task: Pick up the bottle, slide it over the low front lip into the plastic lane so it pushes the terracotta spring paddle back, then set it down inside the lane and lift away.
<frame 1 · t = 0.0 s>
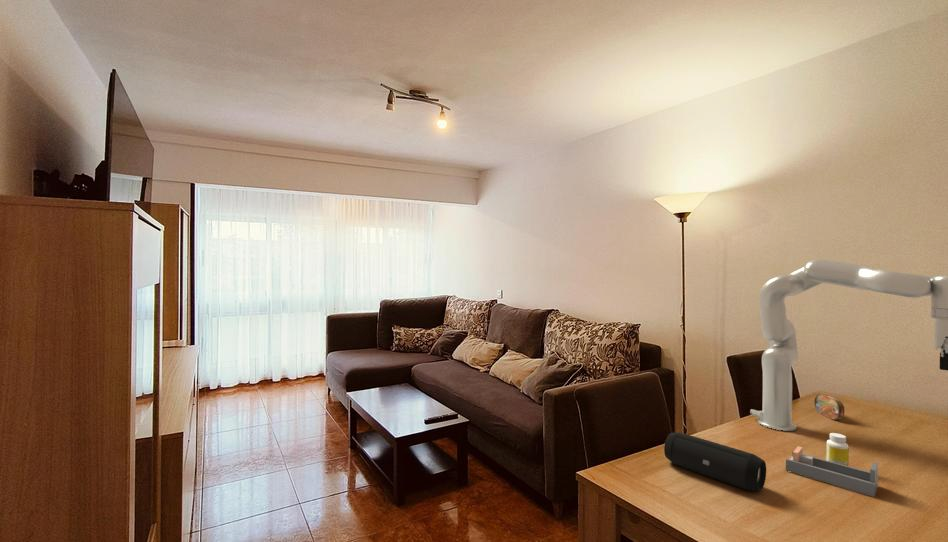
hand: (947, 367, 136), 31 cm above the table, tool pointing down, fingers open, 9 cm apart
supplement bottle: (837, 466, 136), on the table
pusher lane: (830, 478, 127), on the table
portable speaker: (712, 476, 128), on the table
spring paddle: (803, 458, 132), point 4 cm above the table, slide at 0.0 cm
multicoloured flat oval piece: (829, 416, 181), on the table
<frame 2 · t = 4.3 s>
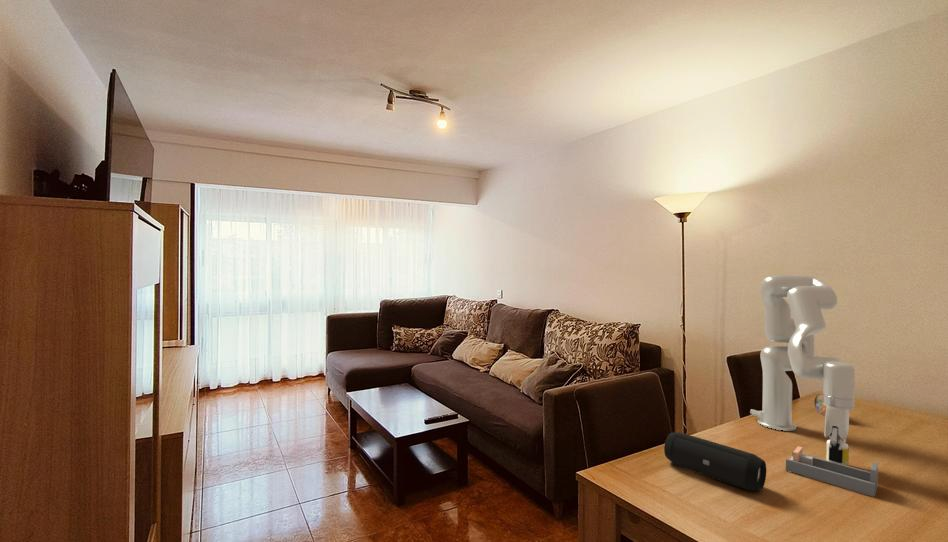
hand: (837, 457, 135), 3 cm above the table, tool pointing down, fingers closed on supplement bottle, 5 cm apart
supplement bottle: (837, 466, 136), on the table, touching gripper
everything else where it was.
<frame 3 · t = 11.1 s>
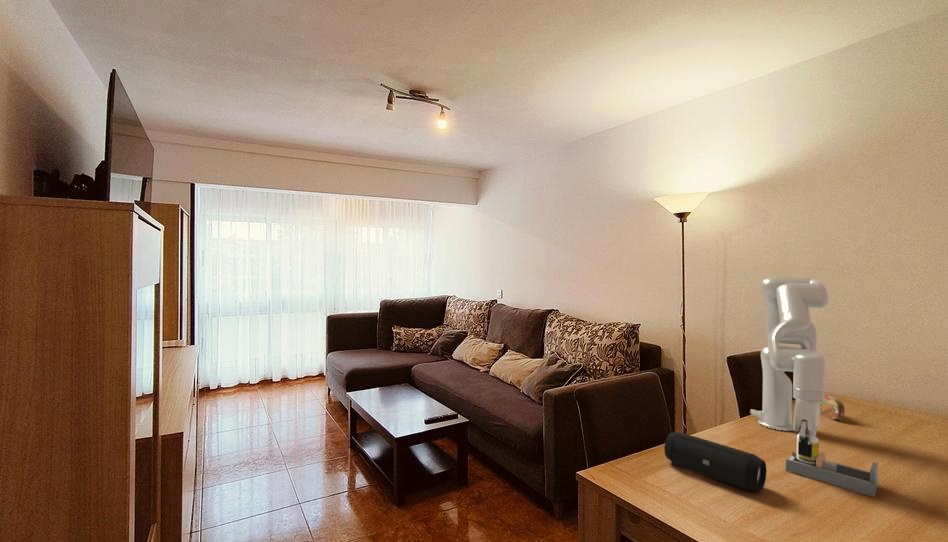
hand: (807, 452, 132), 6 cm above the table, tool pointing down, fingers closed on supplement bottle, 5 cm apart
supplement bottle: (807, 461, 132), point 3 cm above the table, touching gripper, spring paddle
spring paddle: (827, 465, 128), point 4 cm above the table, slide at 5.6 cm, touching supplement bottle
everything else where it was.
when the fingers open (4 cm above the table, at t = 12.1 s): supplement bottle stays where it is, resting on pusher lane, spring paddle.
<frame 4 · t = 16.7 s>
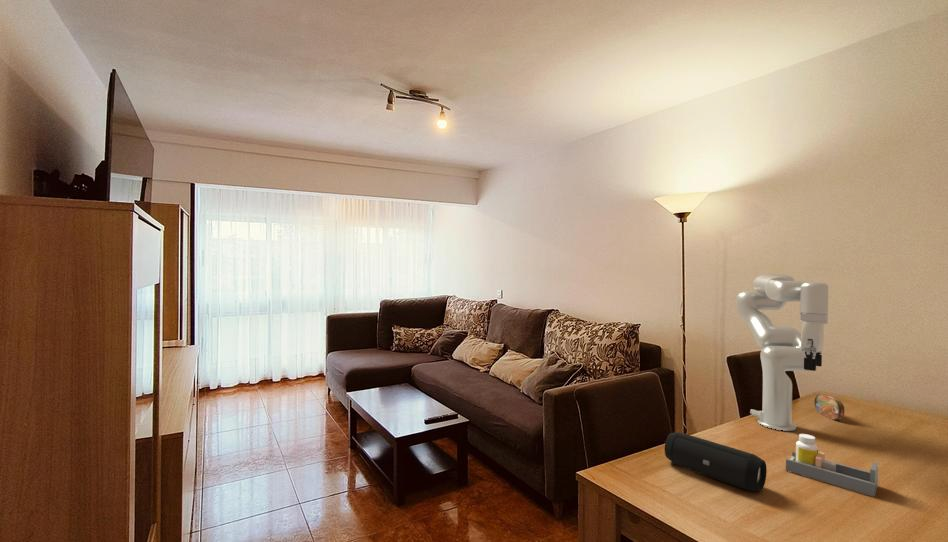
hand: (812, 367, 147), 28 cm above the table, tool pointing down, fingers open, 9 cm apart
supplement bottle: (806, 468, 132), point 1 cm above the table, touching pusher lane, spring paddle
everything else where it was.
at the end: supplement bottle 0.6 cm from the target spot on the pusher lane, point 0.8 cm above the pusher lane's base; spring paddle slide at 5.5 cm; supplement bottle tilted 0° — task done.
